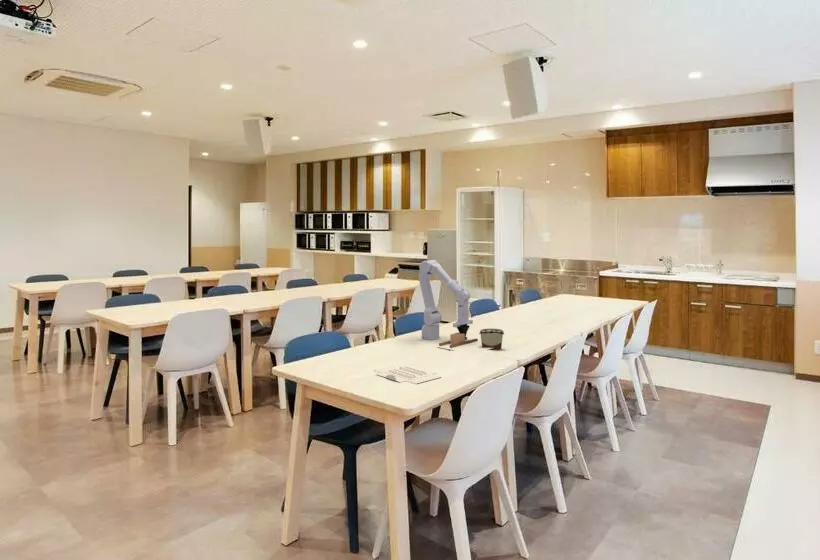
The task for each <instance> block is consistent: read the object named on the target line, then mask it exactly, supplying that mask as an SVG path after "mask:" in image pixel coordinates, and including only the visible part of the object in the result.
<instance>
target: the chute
mask: <svg viewBox="0 0 820 560" xmlns="http://www.w3.org/2000/svg"><path fill="white" fill-rule="evenodd" d="M478 341H479V339H478V338H472V339H469V340H468V336H466V338H465V341H464V342H460V343H456V344H450V340H447V341H443V342H440V343H438V345H439V347H438V346H437V348H438V349H442V350H447V351H452V352H455V350H454V348H457V347H460V346H464V345H468V344H472V343H476V342H478ZM448 345H449V348H443V347H442V346H448Z"/></svg>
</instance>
